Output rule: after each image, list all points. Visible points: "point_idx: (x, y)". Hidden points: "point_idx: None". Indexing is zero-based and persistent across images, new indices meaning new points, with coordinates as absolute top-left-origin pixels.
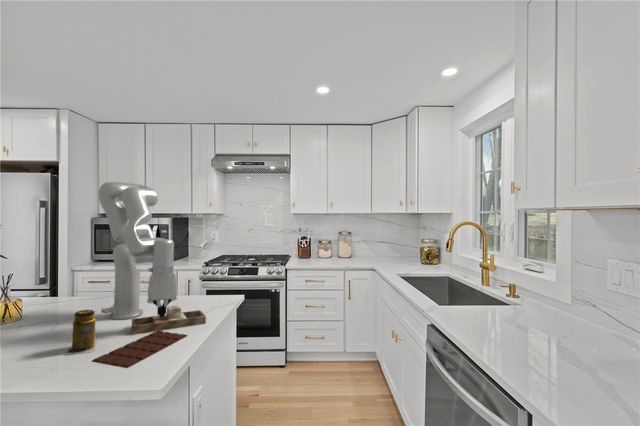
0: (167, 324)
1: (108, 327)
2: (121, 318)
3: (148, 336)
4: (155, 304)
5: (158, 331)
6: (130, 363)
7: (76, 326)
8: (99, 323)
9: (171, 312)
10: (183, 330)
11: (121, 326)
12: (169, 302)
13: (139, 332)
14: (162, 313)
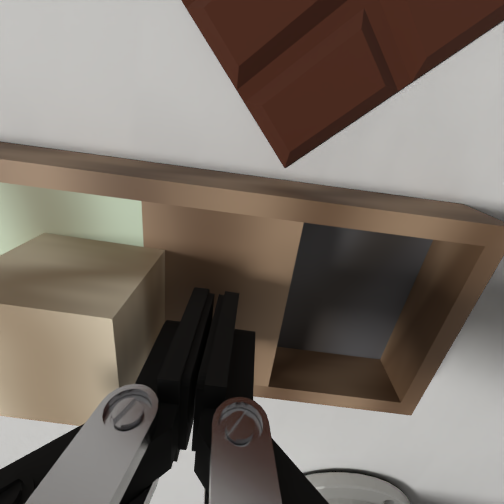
0: (192, 176)
1: (487, 414)
2: (380, 483)
3: (426, 8)
4: (298, 477)
5: (291, 120)
6: None
7: None
8: (481, 478)
9: (99, 285)
10: (68, 38)
11: (428, 396)
12: (36, 455)
13: (424, 200)
14: (208, 316)
